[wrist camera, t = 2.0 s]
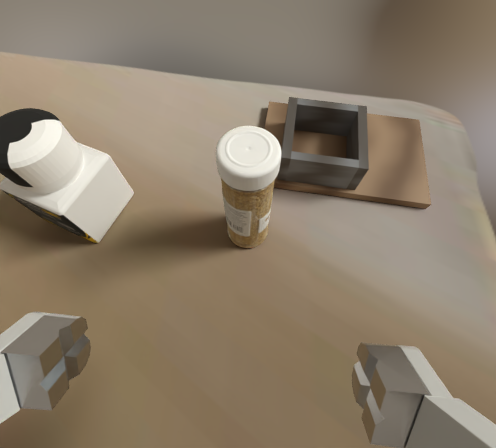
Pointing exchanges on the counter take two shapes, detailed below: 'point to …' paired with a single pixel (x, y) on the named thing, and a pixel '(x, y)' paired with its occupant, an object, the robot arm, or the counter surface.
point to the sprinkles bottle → (248, 181)
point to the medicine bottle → (59, 174)
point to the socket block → (349, 152)
